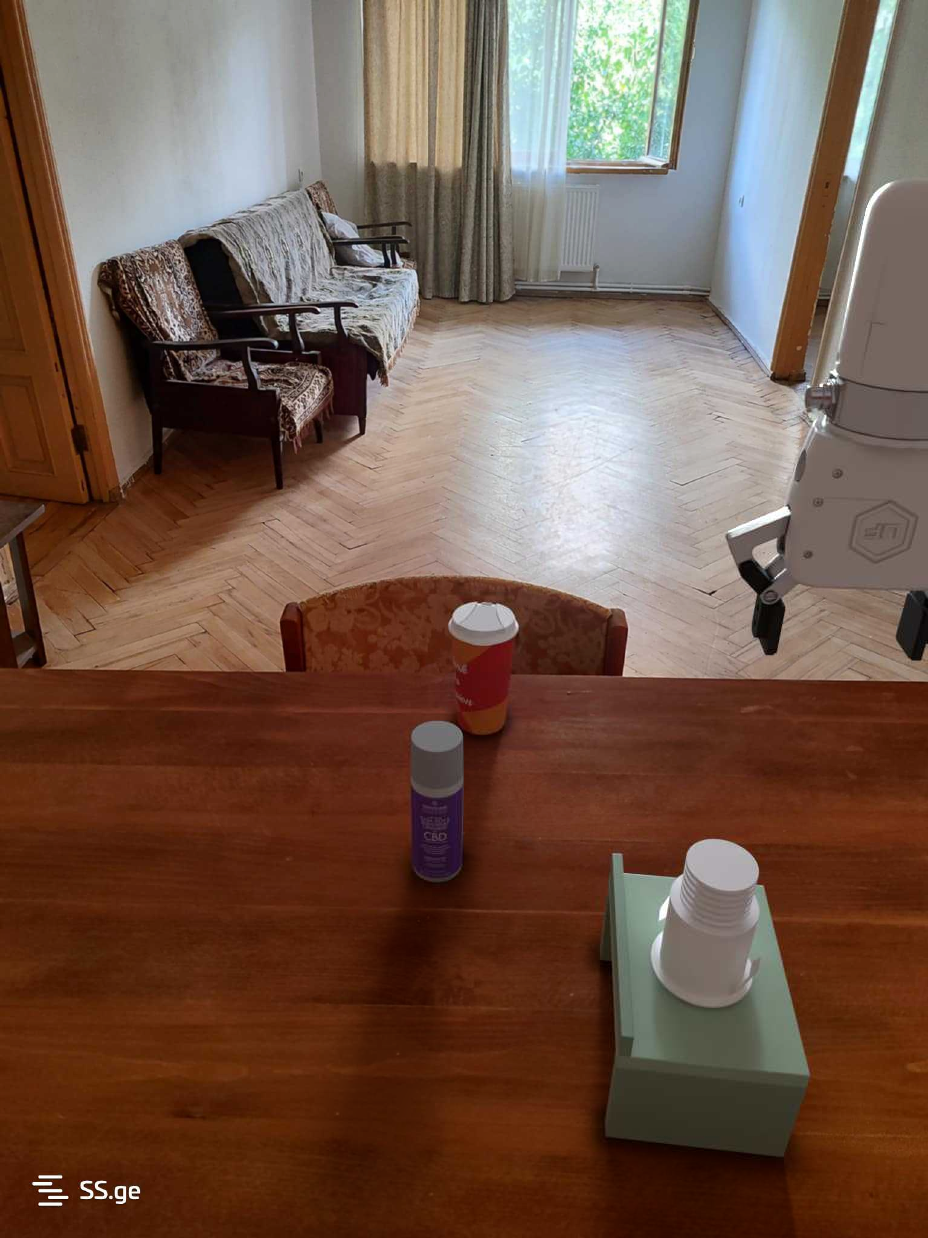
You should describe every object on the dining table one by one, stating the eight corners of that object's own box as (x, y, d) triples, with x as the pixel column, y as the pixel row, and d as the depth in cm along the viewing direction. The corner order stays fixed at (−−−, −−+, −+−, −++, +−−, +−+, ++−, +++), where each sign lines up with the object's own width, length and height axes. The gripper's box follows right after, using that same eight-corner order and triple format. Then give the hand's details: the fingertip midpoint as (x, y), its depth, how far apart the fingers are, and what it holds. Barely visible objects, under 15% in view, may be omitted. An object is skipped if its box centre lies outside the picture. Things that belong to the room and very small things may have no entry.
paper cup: (453, 698, 107) (453, 596, 100) (516, 704, 106) (521, 601, 99) (443, 738, 100) (442, 631, 93) (510, 744, 99) (515, 637, 92)
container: (423, 888, 80) (421, 758, 73) (405, 854, 84) (401, 727, 77) (470, 873, 82) (472, 745, 75) (450, 840, 86) (451, 714, 78)
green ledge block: (744, 962, 74) (768, 866, 68) (783, 1157, 60) (817, 1057, 54) (599, 948, 75) (612, 853, 69) (605, 1137, 61) (621, 1036, 56)
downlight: (778, 983, 61) (808, 880, 56) (709, 1034, 58) (733, 929, 53) (692, 909, 67) (712, 809, 62) (624, 951, 64) (639, 849, 59)
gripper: (760, 422, 51) (719, 672, 59) (1075, 428, 49) (987, 682, 58) (736, 387, 57) (702, 617, 66) (1014, 392, 56) (943, 625, 64)
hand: (836, 647), depth 62 cm, fingers open, 9 cm apart
